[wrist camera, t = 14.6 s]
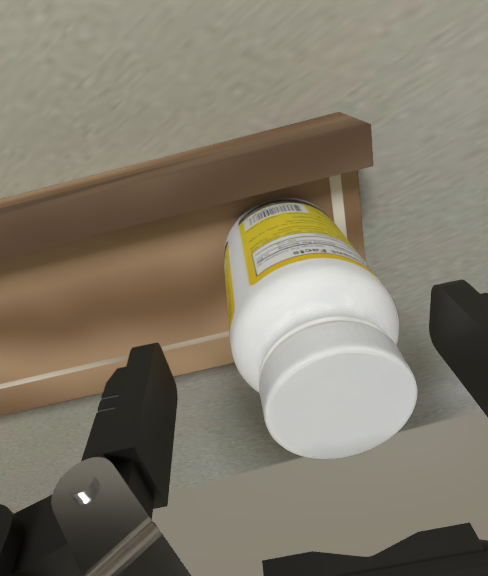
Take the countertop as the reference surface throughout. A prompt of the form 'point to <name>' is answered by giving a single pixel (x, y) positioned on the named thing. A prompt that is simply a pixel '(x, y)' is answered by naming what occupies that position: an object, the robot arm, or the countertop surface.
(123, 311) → the board
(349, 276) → the supplement bottle
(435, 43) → the countertop surface
